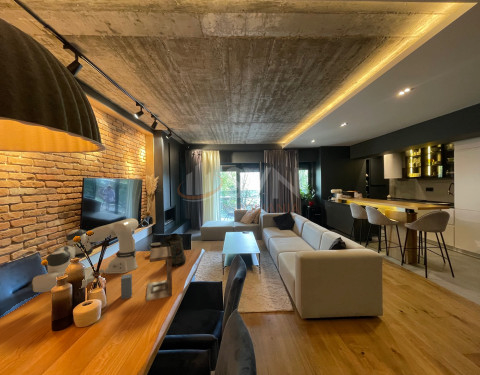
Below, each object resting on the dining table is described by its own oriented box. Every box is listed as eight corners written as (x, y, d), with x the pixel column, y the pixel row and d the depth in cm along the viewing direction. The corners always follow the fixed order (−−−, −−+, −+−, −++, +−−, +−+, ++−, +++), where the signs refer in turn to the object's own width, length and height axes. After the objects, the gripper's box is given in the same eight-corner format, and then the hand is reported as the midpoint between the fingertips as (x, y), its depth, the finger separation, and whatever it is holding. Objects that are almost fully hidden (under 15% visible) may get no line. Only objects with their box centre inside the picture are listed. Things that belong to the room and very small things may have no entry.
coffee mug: (163, 253, 194) (162, 243, 194) (155, 256, 186) (155, 245, 186) (154, 251, 199) (154, 241, 199) (146, 254, 191) (146, 244, 191)
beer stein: (189, 260, 176) (189, 232, 176) (177, 269, 157) (176, 237, 157) (172, 258, 180) (172, 231, 180) (158, 267, 161) (158, 236, 161)
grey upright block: (121, 299, 117) (121, 278, 116) (122, 295, 121) (122, 275, 121) (131, 297, 119) (130, 277, 118) (132, 293, 123) (131, 273, 123)
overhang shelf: (146, 300, 115) (145, 259, 114) (147, 284, 133) (147, 248, 133) (172, 295, 120) (171, 255, 120) (170, 280, 139) (169, 246, 138)
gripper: (78, 276, 119) (106, 272, 124) (63, 293, 100) (96, 287, 105) (78, 265, 119) (105, 262, 124) (63, 281, 100) (96, 275, 105)
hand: (101, 274), depth 114 cm, fingers open, 8 cm apart
